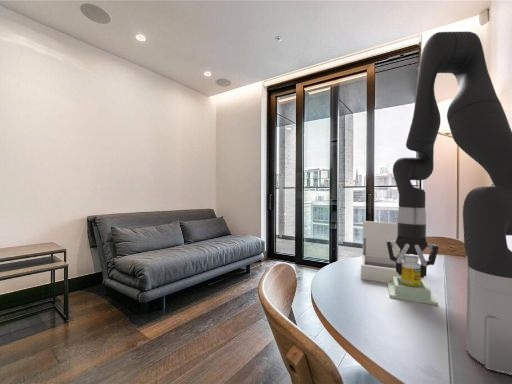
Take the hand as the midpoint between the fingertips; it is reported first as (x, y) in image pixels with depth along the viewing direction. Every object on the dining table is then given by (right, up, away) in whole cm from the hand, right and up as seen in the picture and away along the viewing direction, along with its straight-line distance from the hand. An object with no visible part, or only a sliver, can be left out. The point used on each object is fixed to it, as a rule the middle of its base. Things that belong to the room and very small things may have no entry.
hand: (410, 275), depth 77 cm
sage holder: (0, -6, 0) cm, 6 cm away
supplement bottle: (0, -4, 0) cm, 4 cm away
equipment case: (0, -5, +17) cm, 18 cm away
